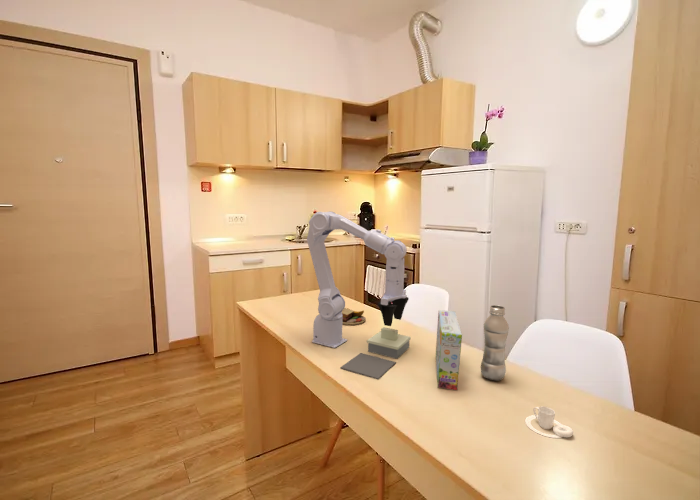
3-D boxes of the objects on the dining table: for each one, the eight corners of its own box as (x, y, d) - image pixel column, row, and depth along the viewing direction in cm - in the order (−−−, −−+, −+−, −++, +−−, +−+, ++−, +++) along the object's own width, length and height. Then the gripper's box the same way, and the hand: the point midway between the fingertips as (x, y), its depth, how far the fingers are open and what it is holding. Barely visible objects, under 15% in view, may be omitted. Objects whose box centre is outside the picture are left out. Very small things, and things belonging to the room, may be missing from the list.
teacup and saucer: (579, 440, 73) (581, 421, 73) (545, 444, 72) (547, 425, 71) (547, 415, 82) (549, 398, 81) (516, 419, 80) (518, 402, 80)
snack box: (459, 391, 91) (463, 334, 89) (437, 388, 92) (439, 332, 90) (453, 357, 112) (455, 310, 110) (434, 355, 113) (436, 308, 111)
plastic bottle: (504, 374, 100) (509, 305, 98) (506, 385, 94) (511, 311, 92) (479, 370, 103) (484, 302, 100) (480, 381, 96) (485, 309, 94)
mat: (340, 368, 102) (340, 367, 102) (360, 354, 112) (360, 352, 112) (378, 379, 96) (378, 378, 96) (396, 363, 106) (396, 361, 106)
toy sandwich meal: (354, 328, 136) (355, 316, 135) (326, 321, 143) (326, 310, 143) (371, 320, 146) (371, 309, 146) (343, 314, 154) (344, 303, 153)
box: (368, 351, 114) (368, 342, 114) (381, 341, 123) (381, 333, 123) (397, 358, 109) (397, 349, 109) (409, 347, 118) (409, 339, 118)
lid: (366, 343, 114) (367, 331, 113) (381, 333, 123) (381, 322, 122) (397, 351, 109) (398, 337, 108) (410, 340, 118) (411, 327, 117)
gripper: (397, 286, 103) (395, 331, 105) (415, 277, 116) (413, 318, 117) (375, 282, 107) (373, 326, 109) (395, 275, 119) (393, 314, 121)
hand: (392, 322), depth 113 cm, fingers open, 7 cm apart
